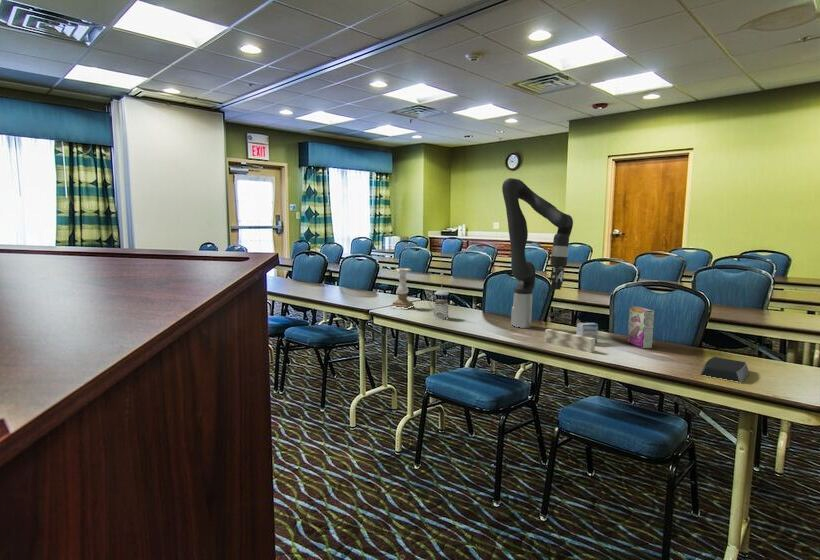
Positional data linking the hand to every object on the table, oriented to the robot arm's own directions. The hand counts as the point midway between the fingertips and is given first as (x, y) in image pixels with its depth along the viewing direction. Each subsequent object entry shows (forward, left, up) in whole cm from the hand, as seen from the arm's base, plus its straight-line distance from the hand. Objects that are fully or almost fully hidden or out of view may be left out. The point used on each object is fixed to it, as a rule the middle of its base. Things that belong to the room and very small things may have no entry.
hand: (555, 289), depth 225 cm
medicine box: (+19, -4, -21) cm, 29 cm away
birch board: (+18, -17, -21) cm, 33 cm away
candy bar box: (+36, +10, -21) cm, 43 cm away
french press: (-60, -19, -21) cm, 66 cm away
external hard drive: (+73, -5, -22) cm, 77 cm away
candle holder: (-97, -15, -21) cm, 100 cm away
